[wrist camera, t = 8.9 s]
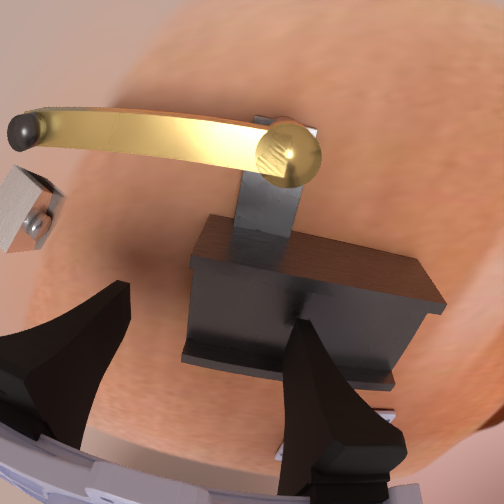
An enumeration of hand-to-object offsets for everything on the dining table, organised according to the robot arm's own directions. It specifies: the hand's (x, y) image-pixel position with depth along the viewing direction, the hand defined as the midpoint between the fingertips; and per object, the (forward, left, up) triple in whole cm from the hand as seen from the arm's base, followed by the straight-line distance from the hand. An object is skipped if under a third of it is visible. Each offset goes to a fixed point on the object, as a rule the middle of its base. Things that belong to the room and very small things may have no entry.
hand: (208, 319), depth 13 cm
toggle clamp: (+3, -4, -4) cm, 6 cm away
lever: (+7, +2, 0) cm, 8 cm away
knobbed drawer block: (+2, +13, -4) cm, 14 cm away
